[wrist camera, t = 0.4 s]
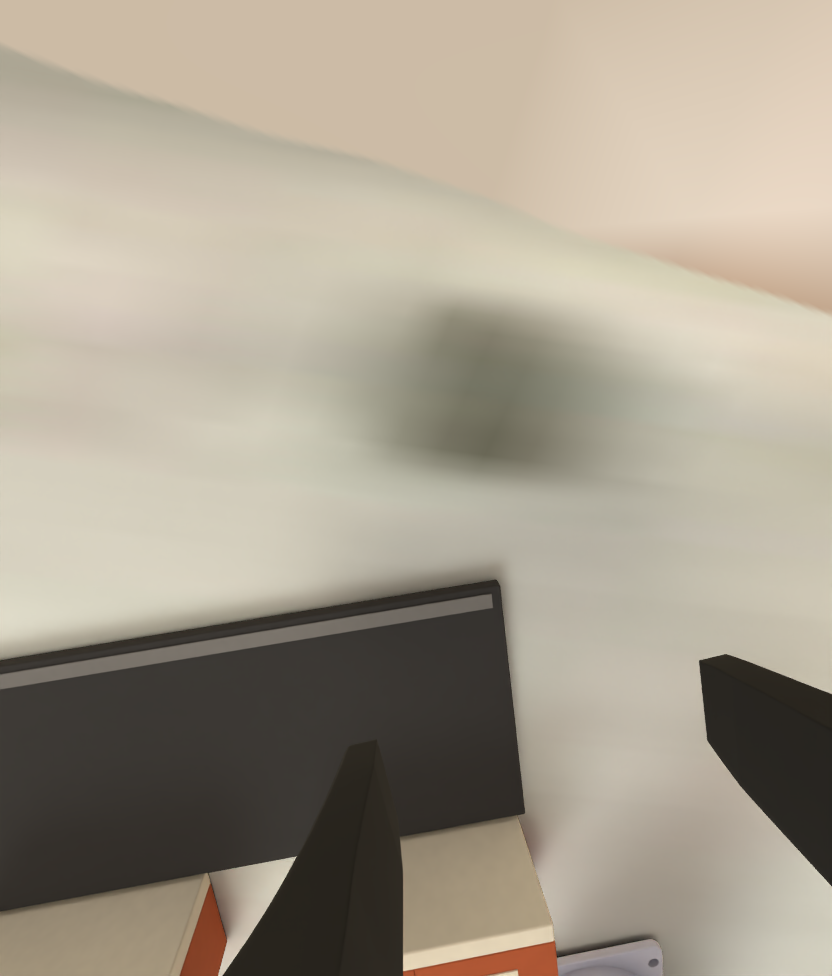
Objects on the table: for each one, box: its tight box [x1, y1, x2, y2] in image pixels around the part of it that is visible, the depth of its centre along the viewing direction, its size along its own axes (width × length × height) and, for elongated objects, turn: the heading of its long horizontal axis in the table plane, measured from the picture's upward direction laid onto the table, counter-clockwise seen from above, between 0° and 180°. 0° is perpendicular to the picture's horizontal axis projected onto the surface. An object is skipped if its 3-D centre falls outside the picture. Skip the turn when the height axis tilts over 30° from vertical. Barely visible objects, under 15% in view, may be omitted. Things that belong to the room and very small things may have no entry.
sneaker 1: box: [400, 815, 559, 976], centre depth 21 cm, size 4×10×5 cm, turn 98°
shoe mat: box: [0, 580, 525, 912], centre depth 21 cm, size 11×28×1 cm, turn 98°
